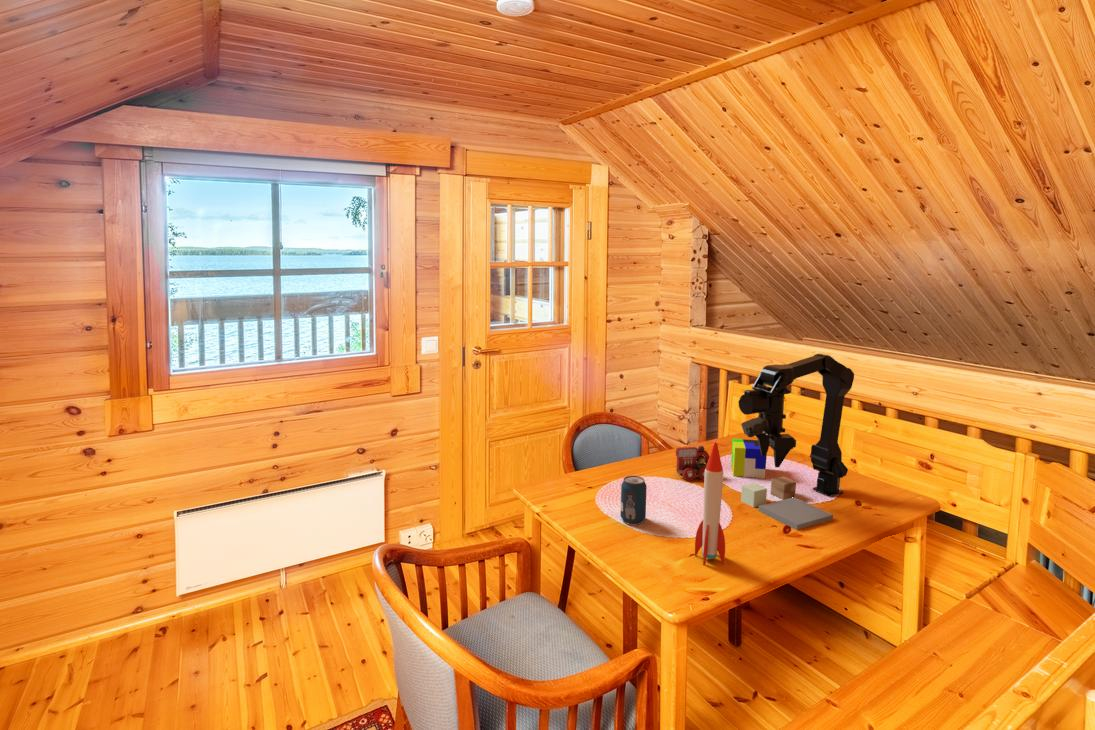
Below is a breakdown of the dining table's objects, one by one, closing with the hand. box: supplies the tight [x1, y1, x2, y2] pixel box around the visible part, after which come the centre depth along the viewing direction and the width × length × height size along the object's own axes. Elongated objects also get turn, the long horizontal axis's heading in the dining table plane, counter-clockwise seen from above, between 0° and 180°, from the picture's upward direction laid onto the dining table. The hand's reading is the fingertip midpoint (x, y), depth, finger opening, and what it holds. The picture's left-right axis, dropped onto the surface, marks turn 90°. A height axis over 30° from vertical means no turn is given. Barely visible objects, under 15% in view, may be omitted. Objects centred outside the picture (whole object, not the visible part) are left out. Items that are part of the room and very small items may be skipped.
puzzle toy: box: [730, 438, 768, 479], centre depth 214 cm, size 10×10×10 cm
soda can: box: [620, 475, 647, 525], centre depth 176 cm, size 7×7×12 cm
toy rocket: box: [694, 441, 726, 566], centre depth 153 cm, size 6×6×30 cm
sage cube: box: [740, 482, 768, 508], centre depth 189 cm, size 5×5×5 cm
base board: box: [758, 497, 834, 531], centre depth 181 cm, size 14×14×2 cm
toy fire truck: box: [675, 445, 710, 482], centre depth 210 cm, size 7×12×10 cm, turn 100°
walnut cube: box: [770, 476, 797, 500], centre depth 194 cm, size 5×5×5 cm
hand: (770, 461), depth 185 cm, fingers open, 9 cm apart
